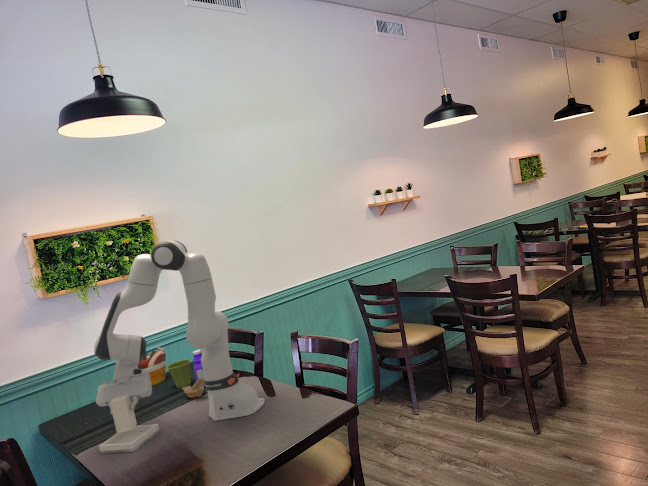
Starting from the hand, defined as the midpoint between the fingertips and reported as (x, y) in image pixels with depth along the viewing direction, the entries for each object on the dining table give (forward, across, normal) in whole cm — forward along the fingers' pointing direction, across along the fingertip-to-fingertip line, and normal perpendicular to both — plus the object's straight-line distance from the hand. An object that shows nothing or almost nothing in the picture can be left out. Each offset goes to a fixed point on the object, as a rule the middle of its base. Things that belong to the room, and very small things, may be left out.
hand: (122, 411), depth 181 cm
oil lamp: (-19, +16, +37) cm, 44 cm away
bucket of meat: (-46, -14, +64) cm, 80 cm away
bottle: (-28, +19, +45) cm, 56 cm away
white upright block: (+4, 0, +5) cm, 7 cm away
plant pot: (-34, +6, +52) cm, 62 cm away
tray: (+8, 0, +9) cm, 12 cm away
